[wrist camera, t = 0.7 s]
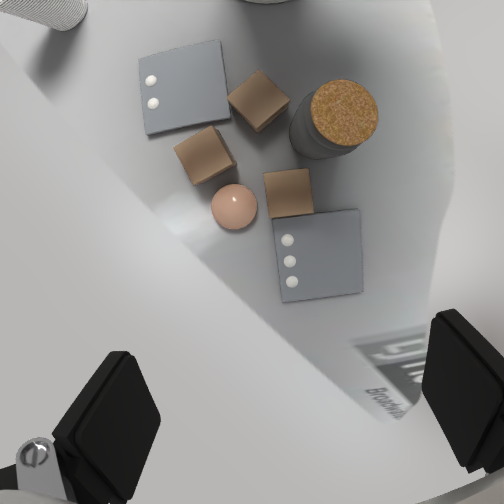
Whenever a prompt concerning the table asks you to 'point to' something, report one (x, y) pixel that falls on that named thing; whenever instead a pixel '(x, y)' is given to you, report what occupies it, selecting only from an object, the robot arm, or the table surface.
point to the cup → (48, 11)
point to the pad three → (319, 254)
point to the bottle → (333, 120)
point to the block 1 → (204, 155)
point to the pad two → (183, 87)
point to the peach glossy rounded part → (234, 206)
